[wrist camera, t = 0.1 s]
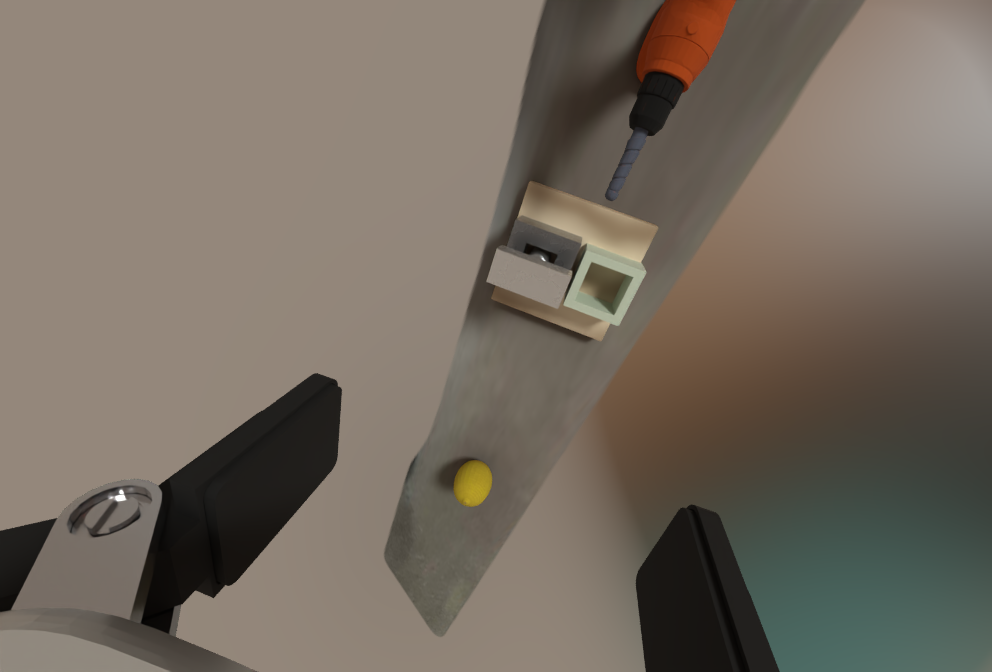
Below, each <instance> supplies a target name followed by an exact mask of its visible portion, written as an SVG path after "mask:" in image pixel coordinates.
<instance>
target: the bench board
mask: <svg viewBox="0 0 992 672" xmlns="http://www.w3.org/2000/svg"><path fill="white" fill-rule="evenodd" d="M521 215H523V216H526V217H528V218H531V219H534V220H537V221H539V222H542V223H545V224H548V225H550V226H553V227H556V228H559V229H561V230H564V231H567V232H570V233H572V234H575V235H578V236H580V237H582V244H581V246H580V249H579V251H578V254H577V256H576V258H575V261H574V263H573V266H572V268H571V271H572V277H573V275H574V272H575V270H576V268H577V265H578V263H579V260H580V258H581V256H582V253H583V251H584V249H585V246H586V244H587V243H588V244H591V245H594V246H596V247H599V248H602V249H605V250H607V251H610V252H613V253H615V254H618V255H621V256H624V257H626V258H629V259H632V260H635V261H637V262H640V263H641V261H642V259H643V257H644V255H645V253H646V251H647V249H648V247H649V245H650V244H651V242H652V240H653V238H654V236H655V234H656V232H657V230H658V228H659V227H657V226H656V225H655V224H652V223H649V222H646V221H643V220H641V219H638V218H635V217H632V216H629V215H627V214H624V213H621V212H618V211H615V210H613V209H610V208H607V207H604V206H601V205H599V204H596V203H593V202H590V201H587V200H585V199H582V198H579V197H576V196H573V195H571V194H568V193H565V192H562V191H559V190H557V189H554V188H551V187H548V186H546V185H543V184H540V183H537V182H534V181H529V184H528V187H527V190H526V193H525V196H524V199H523V202H522V205H521V208H520V211H519V214H518V217H520V216H521ZM535 247H536V246H533V245H531V244H529V246H528V249H527V251H526V254H528V255H529V254H530V252H531V251H532V250H533V248H535ZM557 255H558V254H555V253H552V252H551V260H550V263H552V264H554V262H555V260H556V257H557ZM625 276H626V274H623V273H621V272H618V271H615V270H612V269H610V268H607V267H604V266H602V265H599V264H596V263H594V262H591V264H590V266H589V269H588V271H587V273H586V275H585V278H584V280H583V282H582V285H581V287H580V289H579V291H580V292H583V293H585V294H588V295H591V296H593V297H596V298H599V299H601V300H604V301H607V302H609V303H613V301H614V299H615V297H616V295H617V293H618V291H619V288H620V286H621V284H622V282H623V280H624V278H625ZM572 277H571V279H572ZM571 279H570V282H571ZM570 282H569V284H570ZM569 284H568V286H569ZM567 289H568V287H567ZM567 289H566V291H567ZM566 291H565V293H566ZM564 298H565V294H564V296H563V298H562V301H561V303H560V305H559V308H558V309H556V308H554V307H551V306H548V305H546V304H543V303H541V302H538V301H535V300H533V299H530V298H528V297H525V296H522V295H520V294H517V293H514V292H512V291H509V290H507V289H504V288H501V287H499V286H496V285H495V288H494V291H493V294H492V297H491V299H492V300H495V301H497V302H500V303H502V304H505V305H508V306H510V307H513V308H515V309H518V310H521V311H523V312H526V313H528V314H531V315H534V316H536V317H539V318H541V319H544V320H547V321H549V322H552V323H554V324H557V325H560V326H562V327H565V328H568V329H570V330H573V331H575V332H578V333H581V334H583V335H586V336H588V337H591V338H594V339H596V340H599V341H602V339H603V337H604V335H605V333H606V331H607V329H608V327H609V325H610V323H609V322H606V321H603V320H601V319H598V318H595V317H593V316H590V315H588V314H585V313H582V312H580V311H577V310H574V309H572V308H569V307H567V306H564V305H563V303H564Z"/></svg>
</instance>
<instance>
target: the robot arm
mask: <svg viewBox="0 0 992 672" xmlns="http://www.w3.org/2000/svg"><path fill="white" fill-rule="evenodd" d="M341 395H342V389H341V388H340V387H338V383H337V381H336V380H335V379H331V378H329V377H326V376H323V375H320V374H318V373H317V374H313V375H311V376H310V377H308V378H307V379H306V380H304V381H303V382H301V383H300V384H299V385H297V386H296V387H295V388H293V389H292V390H291V391H289V392H288V393H286V394H285V395H284V396H282V397H281V398H280V399H278V400H277V401H276V402H274V403H273V404H272V405H270V406H269V407H267V408H266V409H265V410H263V411H261V412H259V413H257V414H256V415H255V416H253V417H252V418H250V419H249V420H248V421H246V422H245V423H244V424H242V425H241V426H239V427H238V428H237V429H235V430H234V431H233V432H231V433H230V434H229V435H227V436H226V437H225V438H223V439H222V440H220V441H219V442H218V443H216V444H215V445H213V446H212V447H211V448H209V449H208V450H207V451H205V452H204V453H202V454H201V455H200V456H198V457H197V458H196V459H194V460H193V461H192V462H190V463H189V464H187V465H186V466H185V467H183V468H182V469H181V470H179V471H178V472H177V473H175V474H174V475H172V476H171V477H170V478H168V479H167V480H165V481H164V482H163V483H161V484H160V485H159V486H158V485H156V484H154V483H152V482H150V481H147V480H141V479H130V480H121V481H117V482H112V483H108V484H105V485H103V486H100V487H98V488H96V489H93V490H91V491H89V492H87V493H86V494H84V495H82V496H81V497H79V498H77V499H76V500H74V501H73V502H72V503H71V504H70V505H69V506H68V507H66V508H65V509H64V510H63V511H62V513H61V514H60V516H59V517H58V518H56V519H51V520H46V521H42V522H38V523H33V524H29V525H24V526H20V527H15V528H11V529H7V530H3V531H0V672H257V671H255V670H253V669H250V668H248V667H246V666H244V665H241V664H239V663H237V662H235V661H232V660H230V659H227V658H225V657H223V656H220V655H218V654H216V653H213V652H211V651H208V650H206V649H203V648H201V647H199V646H196V645H194V644H191V643H189V642H186V641H184V640H181V639H179V638H177V637H176V631H177V626H178V620H179V615H180V609H181V604H183V603H184V602H185V601H186V599H187V598H189V596H190V595H191V594H192V593H193V592H194V591H195V590H196V591H199V592H201V593H203V594H205V595H208V596H210V597H212V598H214V597H215V596H216V594H218V593H219V592H220V590H221V589H222V588H223V587H224V586H225V585H227V586H230V585H232V584H233V583H235V582H236V581H237V580H238V579H239V578H240V576H241V575H242V574H243V573H244V572H245V571H246V570H247V568H248V567H249V566H250V565H251V564H252V563H253V561H254V560H255V559H256V558H257V557H258V556H259V554H260V553H261V552H262V551H263V550H264V549H265V548H266V546H267V545H268V544H269V543H270V542H271V541H272V539H273V538H274V537H275V536H276V535H277V534H278V532H279V531H280V530H281V529H282V528H283V527H284V525H285V524H286V523H287V522H288V521H289V519H290V518H291V517H292V516H293V515H294V514H295V513H296V511H297V510H298V509H299V508H300V507H301V506H302V504H303V503H304V502H305V501H306V500H307V499H308V497H309V496H310V495H311V494H312V493H313V492H314V491H315V489H316V488H317V487H318V486H319V485H320V483H321V482H322V481H323V480H324V479H325V478H326V476H327V475H328V474H329V473H330V472H331V471H332V469H333V468H334V466H335V464H336V461H337V456H338V441H339V424H340V411H341ZM636 590H637V599H638V608H639V616H640V625H641V634H642V641H643V650H644V660H645V668H646V672H779V669H778V667H777V664H776V661H775V658H774V656H773V653H772V651H771V648H770V645H769V643H768V640H767V638H766V635H765V632H764V630H763V627H762V625H761V622H760V619H759V617H758V614H757V612H756V609H755V606H754V604H753V601H752V598H751V596H750V594H749V592H748V590H747V587H746V585H745V582H744V579H743V577H742V574H741V572H740V569H739V566H738V564H737V561H736V558H735V556H734V553H733V550H732V548H731V545H730V543H729V540H728V537H727V535H726V532H725V530H724V527H723V524H722V522H721V519H720V517H719V515H718V514H717V513H716V512H712V511H710V510H707V509H704V508H701V507H698V506H695V505H689V506H688V507H687V508H681V509H680V510H679V511H678V512H677V514H676V515H675V517H674V518H673V520H672V521H671V523H670V524H669V526H668V527H667V529H666V530H665V532H664V533H663V535H662V536H661V538H660V539H659V541H658V542H657V544H656V545H655V546H654V548H653V549H652V551H651V552H650V554H649V556H648V557H647V558H646V560H645V562H644V563H643V564H642V566H641V567H640V569H639V571H638V574H637V577H636Z"/></svg>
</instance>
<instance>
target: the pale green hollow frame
mask: <svg viewBox="0 0 992 672" xmlns="http://www.w3.org/2000/svg"><path fill="white" fill-rule="evenodd" d="M591 262H594V263H596V264H599V265H602V266H604V267H607V268H610V269H612V270H615V271H618V272H621V273H623V274H626V276H625V278H624V280H623V282H622V284H621V286H620V288H619V291H618V293H617V295H616V297H615V299H614V301H613V303H609V302H607V301H604V300H601V299H599V298H596V297H593V296H591V295H588V294H585V293H583V292H580V291H579V289H580V287H581V285H582V282H583V280H584V278H585V275H586V273H587V271H588V269H589V266H590V264H591ZM645 274H646V270H645V268H644V267H643V265H642V263H640V262H637V261H635V260H632V259H629V258H626V257H624V256H621V255H618V254H615V253H613V252H610V251H607V250H605V249H602V248H599V247H596V246H594V245H591V244H588V243H587V244H586V246H585V249H584V251H583V253H582V256H581V258H580V260H579V263H578V265H577V268H576V270H575V272H574V275H573V277H572V279H571V282H570V284H569V286H568V289H567V291H566V293H565V298H564V303H563V305H564V306H567V307H569V308H572V309H574V310H577V311H580V312H582V313H585V314H588V315H590V316H593V317H595V318H598V319H601V320H603V321H606V322H609V323H611V324H614V325H617V326H619V324H620V322H621V320H622V319H623V317H624V315H625V313H626V311H627V309H628V307H629V305H630V303H631V301H632V299H633V297H634V295H635V293H636V292H637V290H638V288H639V286H640V284H641V282H642V280H643V278H644V276H645Z"/></svg>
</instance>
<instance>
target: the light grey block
mask: <svg viewBox="0 0 992 672" xmlns="http://www.w3.org/2000/svg"><path fill="white" fill-rule="evenodd" d="M550 260H551V252H550V251H547V250H544V249H542V248H539V247H535V248H533V250H532V251H531V252H530V254H529V255H528V254H525V253H522V252H520V251H517V250H514V249H512V248H509V247H506V246H504V245H500V246H499V247H498V248H497V249H496V252H495V256H494V259H493V262H492V265H491V268H490V272H489V275H488V278H487V281H486V282H488V283H491V284H493V285H496V286H499V287H501V288H504V289H507V290H509V291H512V292H514V293H517V294H520V295H522V296H525V297H528V298H530V299H533V300H535V301H538V302H541V303H543V304H546V305H548V306H551V307H554V308H556V309H558V308H559V305H560V303H561V301H562V298H563V296H564V294H565V291H566V289H567V287H568V284H569V282H570V279H571V277H572V271H571V270H568V269H565V268H563V267H560V266H557V265H554V264H552V263H550Z"/></svg>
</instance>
